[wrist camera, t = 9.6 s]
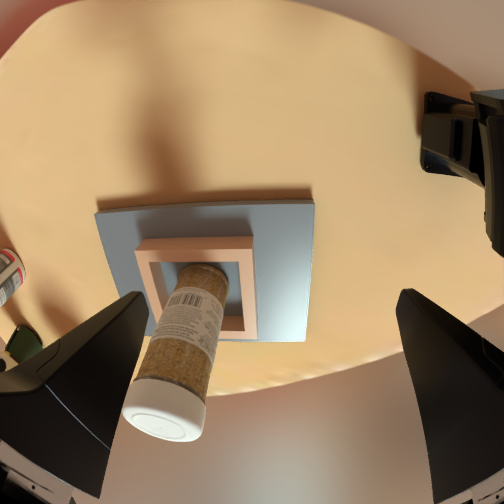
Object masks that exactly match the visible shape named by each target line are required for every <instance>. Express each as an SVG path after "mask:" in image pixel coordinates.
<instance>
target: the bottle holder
mask: <svg viewBox="0 0 504 504" xmlns="http://www.w3.org/2000/svg"><path fill="white" fill-rule="evenodd" d="M314 213H315V203H314V201H313V200H243V201H216V202H196V203H179V204H163V205H150V206H137V207H126V208H115V209H105V210H99V211H98V212H97V213H95V214H94V216H95V220H96V224H97V228H98V231H99V235H100V238H101V242H102V245H103V248H104V252H105V255H106V258H107V261H108V264H109V267H110V270H111V273H112V276H113V279H114V282H115V285H116V288H117V290H118V293H119V296H120V298H121V297H123V296H125V295H126V294H128V293H129V292H131V291H141V292H143V294H144V296H145V299H146V302H147V305H148V308H149V318H148V322H147V326H146V330H145V334H144V336H152V335H153V333H154V330H155V328H156V326H157V323H158V321H159V319H160V317H161V315H162V312H163V310H164V308H165V306H166V304H167V302H168V300H169V297H170V295H171V294H172V293H173V291H174V289H175V287H176V285H177V280H178V277H179V275H180V273H181V272H182V270H184V269H185V268H186V267H188V266H190V265H194V264H206V265H210V266H212V267H214V268H216V269H218V270H219V271H220V272H221V273H223V274H224V276H225V277H226V278H227V281H228V283H229V294H228V297H227V299H226V302H225V307H224V311H223V320H222V324H221V329H220V334H219V338H218V341H238V342H299V341H305V335H306V325H307V315H308V305H309V294H310V281H311V268H312V253H313V235H314Z"/></svg>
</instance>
